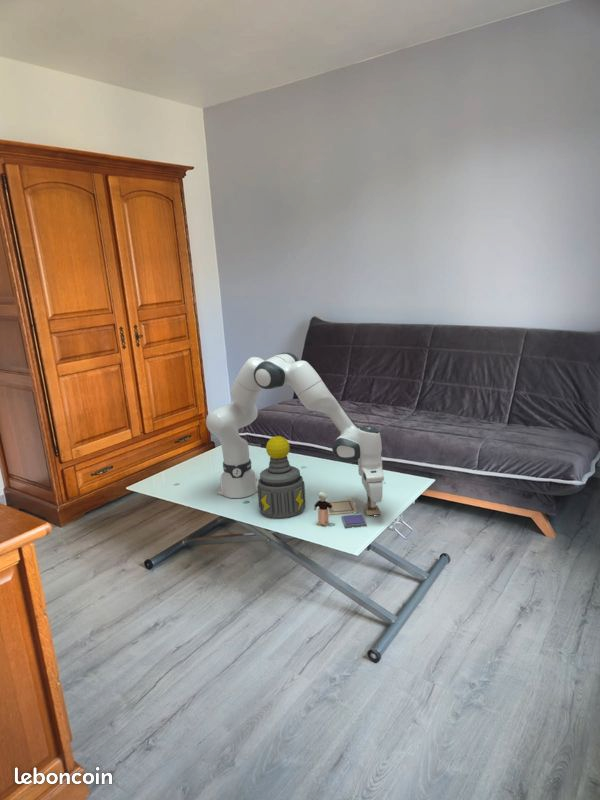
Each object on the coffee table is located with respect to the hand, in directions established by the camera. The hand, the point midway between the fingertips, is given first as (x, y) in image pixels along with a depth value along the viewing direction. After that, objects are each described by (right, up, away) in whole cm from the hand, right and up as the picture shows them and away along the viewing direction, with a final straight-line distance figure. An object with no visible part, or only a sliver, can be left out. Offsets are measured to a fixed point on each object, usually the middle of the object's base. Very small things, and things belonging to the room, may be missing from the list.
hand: (371, 503), depth 203 cm
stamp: (0, -4, +1) cm, 4 cm away
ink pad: (-7, -6, -5) cm, 11 cm away
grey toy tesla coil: (-34, -4, +10) cm, 36 cm away
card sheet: (-11, -3, +8) cm, 14 cm away
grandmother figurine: (-18, -7, -5) cm, 20 cm away
